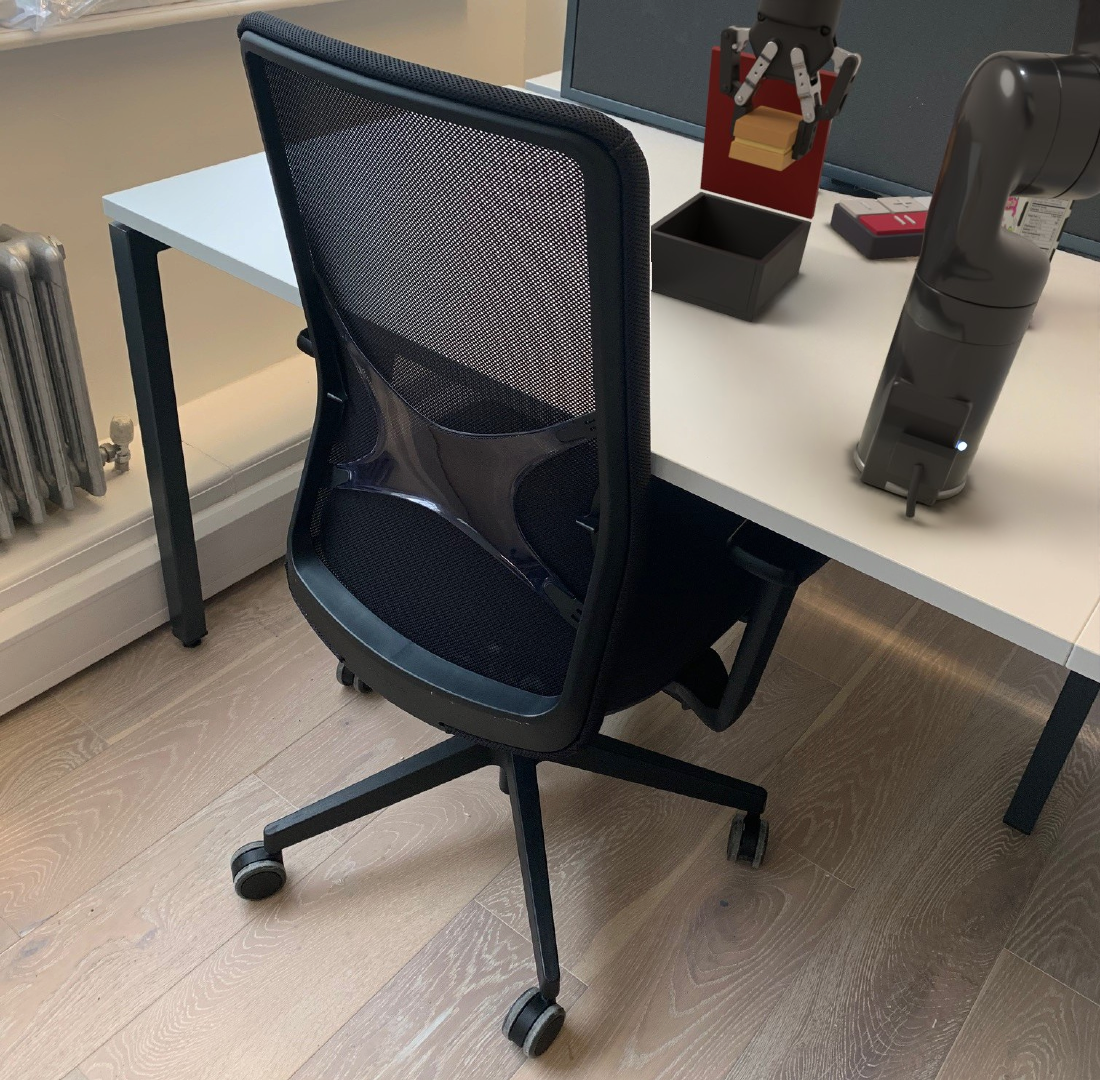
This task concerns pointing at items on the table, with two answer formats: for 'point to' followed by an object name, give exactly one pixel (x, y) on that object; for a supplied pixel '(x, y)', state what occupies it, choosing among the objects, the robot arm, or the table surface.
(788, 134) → the sandwich
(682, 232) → the open black box
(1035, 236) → the candy bar box
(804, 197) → the box lid
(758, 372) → the table surface
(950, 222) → the robot arm
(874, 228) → the calculator
